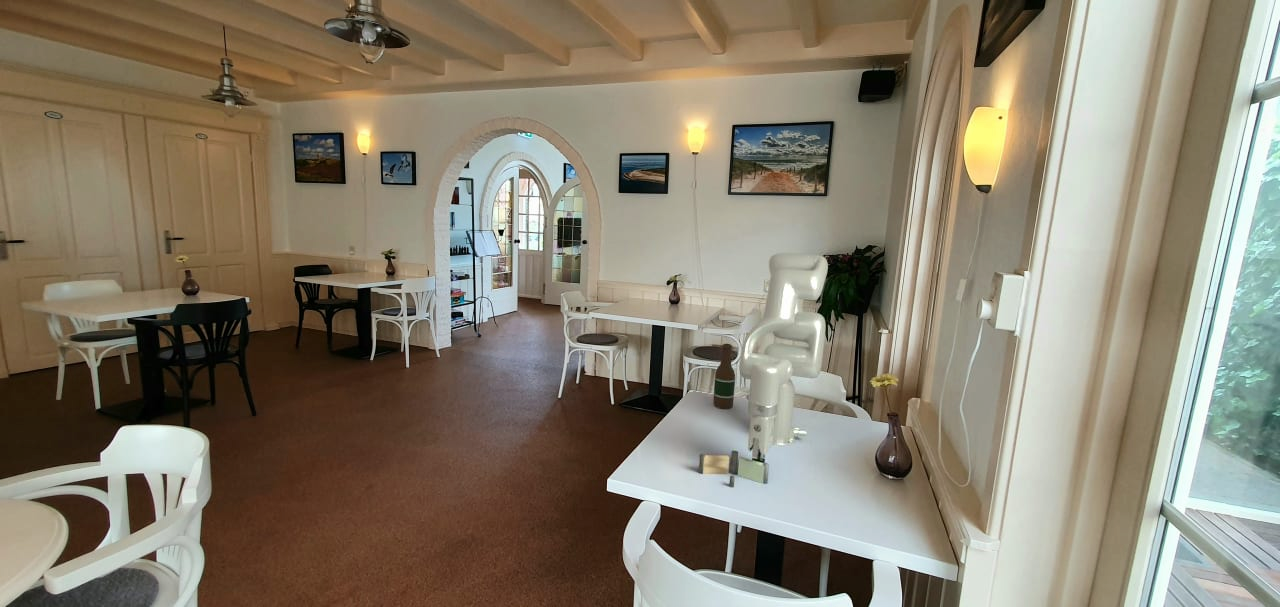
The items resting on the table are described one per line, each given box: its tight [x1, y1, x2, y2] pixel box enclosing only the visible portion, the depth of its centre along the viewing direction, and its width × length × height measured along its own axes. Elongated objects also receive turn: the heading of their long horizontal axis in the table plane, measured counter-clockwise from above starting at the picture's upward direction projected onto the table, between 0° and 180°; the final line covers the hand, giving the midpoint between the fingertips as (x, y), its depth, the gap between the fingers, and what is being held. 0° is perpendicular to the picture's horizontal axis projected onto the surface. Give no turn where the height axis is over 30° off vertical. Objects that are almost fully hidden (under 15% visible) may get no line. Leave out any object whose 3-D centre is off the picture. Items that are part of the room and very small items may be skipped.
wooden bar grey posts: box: [698, 450, 739, 488], centre depth 135 cm, size 10×9×6 cm
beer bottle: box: [712, 343, 736, 410], centre depth 192 cm, size 8×8×24 cm
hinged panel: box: [737, 456, 770, 485], centre depth 136 cm, size 8×2×5 cm, turn 58°
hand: (757, 471), depth 139 cm, fingers closed
